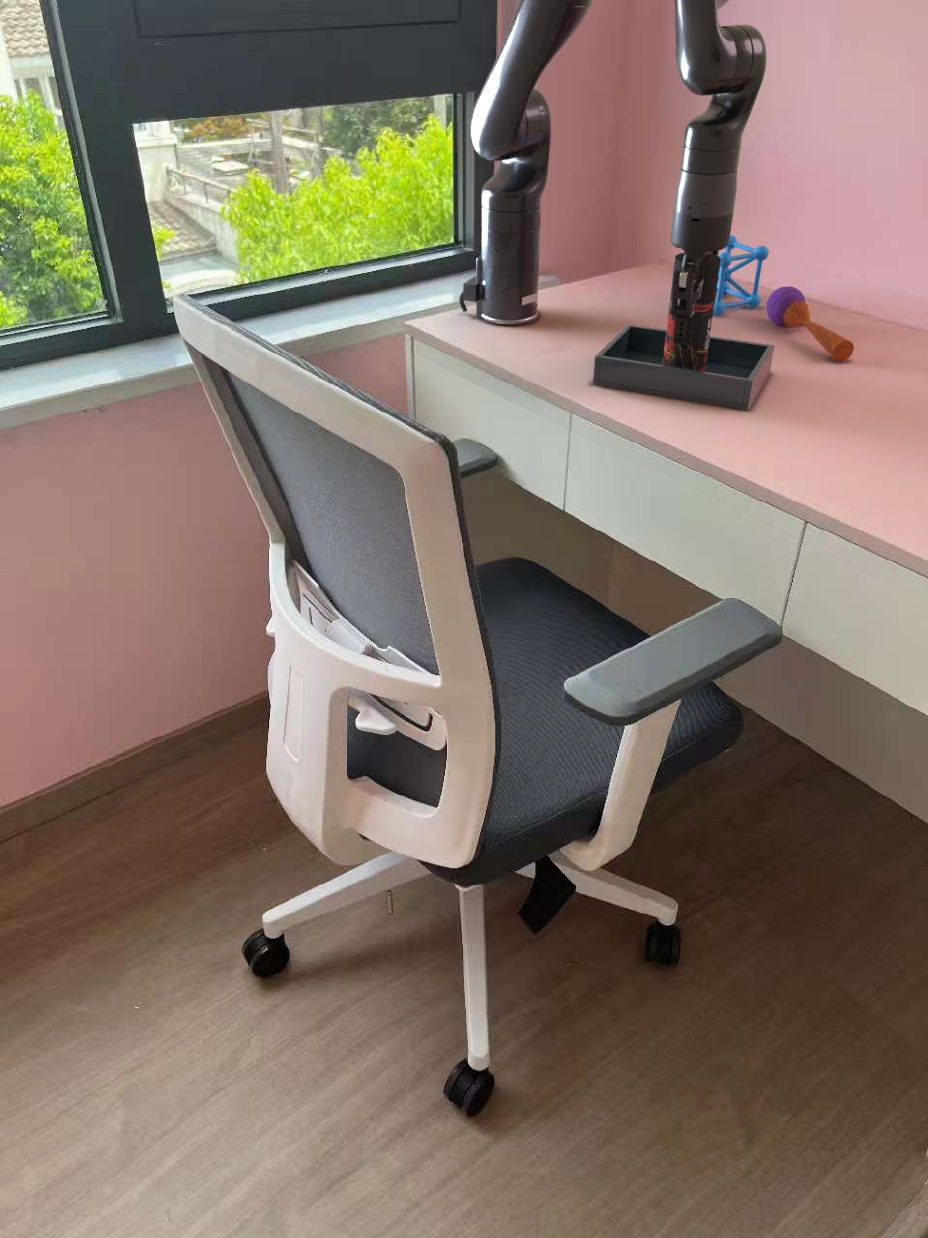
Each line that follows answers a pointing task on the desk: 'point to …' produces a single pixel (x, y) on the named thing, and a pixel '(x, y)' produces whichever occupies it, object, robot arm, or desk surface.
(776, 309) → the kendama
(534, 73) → the robot arm
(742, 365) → the dark grey tray
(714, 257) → the deodorant
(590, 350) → the desk surface
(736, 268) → the molecular structure
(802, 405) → the desk surface
